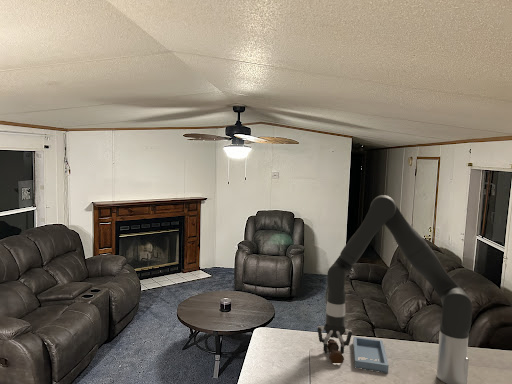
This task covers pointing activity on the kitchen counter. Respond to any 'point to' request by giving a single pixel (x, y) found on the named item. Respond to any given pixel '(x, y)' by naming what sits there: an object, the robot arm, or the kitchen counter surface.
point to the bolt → (334, 352)
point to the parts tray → (370, 354)
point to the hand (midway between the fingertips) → (333, 353)
